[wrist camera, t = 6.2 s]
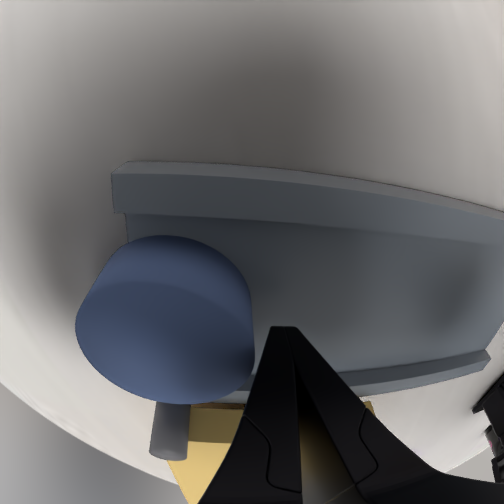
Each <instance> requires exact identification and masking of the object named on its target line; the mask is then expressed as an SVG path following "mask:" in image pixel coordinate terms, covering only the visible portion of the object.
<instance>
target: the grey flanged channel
mask: <svg viewBox="0 0 504 504" xmlns="http://www.w3.org/2000/svg"><path fill="white" fill-rule="evenodd" d="M111 182H112V196H113V208H114V213H125V217H126V228H127V238H128V243H130V242H132V241H134V240H137V239H140V238H143V237H148V236H154V235H172V236H180V237H185V238H190V239H193V240H196V241H199V242H201V243H203V244H206V245H208V246H210V247H212V248H213V249H215V250H217V251H218V252H220V253H221V254H223V255H224V256H225V257H226V258H228V259H229V260H230V261H231V262H232V263H233V264H234V265H235V266H236V267H237V269H238V270H239V271H240V273H241V274H242V275H243V277H244V279H245V281H246V283H247V285H248V288H249V291H250V296H251V305H252V319H253V333H254V346H255V363H254V368H253V370H252V373H251V375H250V376H249V378H248V379H247V381H246V382H245V383H244V384H243V385H242V386H241V387H240V388H238V389H237V390H236V391H234V392H233V393H231V394H229V395H227V396H225V397H222V398H220V399H217V400H214V401H210V402H211V403H238V404H246V402H247V399H248V396H249V393H250V390H251V387H252V384H253V381H254V377H255V374H256V371H257V368H258V365H259V362H260V359H261V355H262V352H263V349H264V346H265V342H266V339H267V336H268V333H269V329H270V327H271V326H295V327H297V328H298V329H299V330H300V331H301V332H302V333H303V335H304V336H305V337H306V338H307V339H308V340H309V342H310V343H311V344H312V345H313V346H314V347H315V348H316V350H317V351H318V352H319V353H320V354H321V355H322V357H323V358H324V359H325V360H326V361H327V362H328V363H329V365H330V366H331V367H332V368H333V369H334V370H335V371H336V373H337V374H338V375H339V376H340V377H341V378H342V379H343V381H344V382H345V383H346V384H347V385H348V386H349V387H350V388H351V390H352V391H353V392H354V393H355V394H356V395H357V396H358V397H363V396H371V395H377V394H383V393H389V392H395V391H401V390H406V389H411V388H416V387H420V386H425V385H429V384H434V383H438V382H442V381H446V380H450V379H454V378H457V377H461V376H464V375H468V374H471V373H474V372H478V371H481V370H483V369H484V367H485V366H486V365H487V364H488V362H489V361H490V360H491V358H490V356H489V355H488V353H487V352H486V350H485V349H486V347H487V346H488V345H489V343H490V342H491V340H492V339H493V337H494V336H495V334H496V333H497V331H498V330H499V328H500V326H501V325H502V323H503V322H504V212H501V211H498V210H495V209H491V208H488V207H484V206H480V205H477V204H473V203H469V202H465V201H461V200H457V199H453V198H449V197H445V196H441V195H437V194H432V193H428V192H423V191H418V190H414V189H409V188H404V187H399V186H394V185H388V184H383V183H377V182H372V181H366V180H360V179H353V178H347V177H340V176H333V175H326V174H319V173H311V172H303V171H295V170H286V169H276V168H266V167H255V166H242V165H228V164H212V163H191V162H150V161H128V162H126V163H125V164H123V165H122V166H121V167H119V168H118V169H117V170H115V171H114V172H112V173H111Z"/></svg>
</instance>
